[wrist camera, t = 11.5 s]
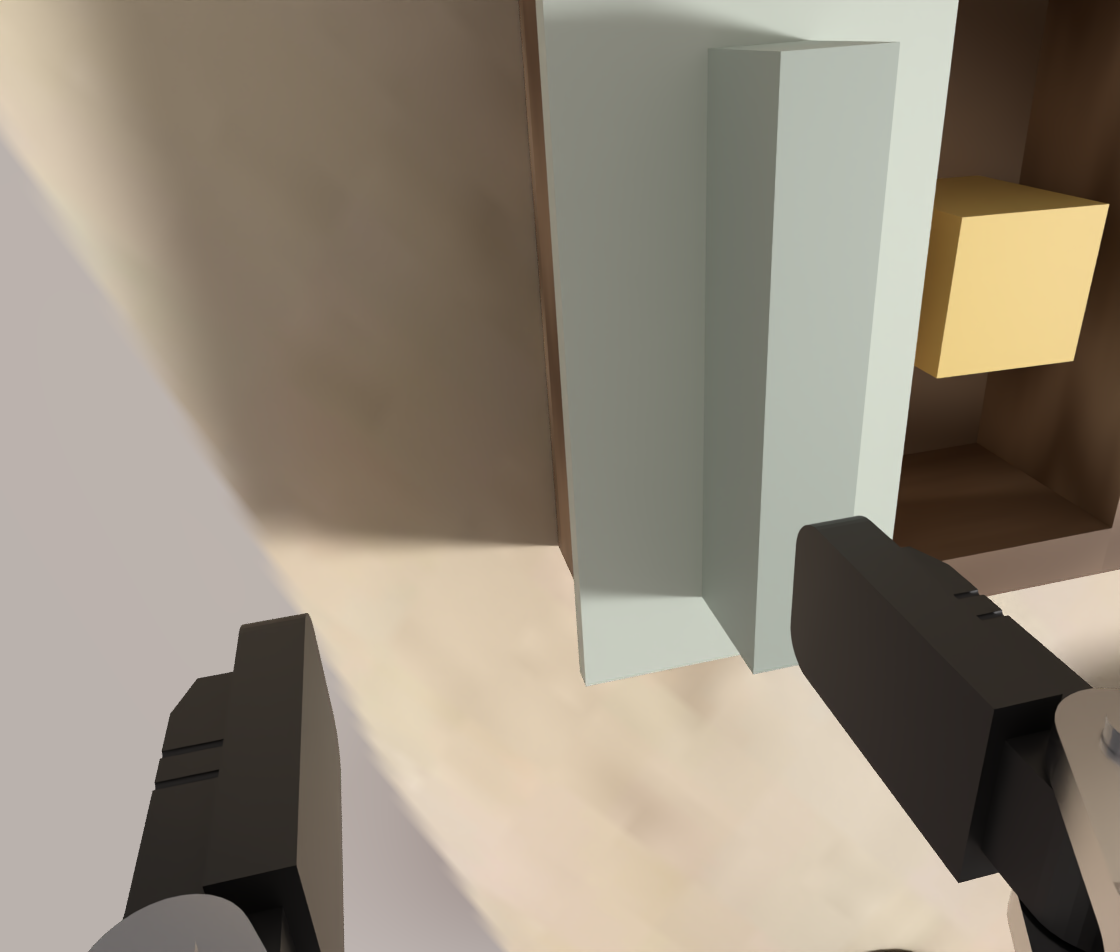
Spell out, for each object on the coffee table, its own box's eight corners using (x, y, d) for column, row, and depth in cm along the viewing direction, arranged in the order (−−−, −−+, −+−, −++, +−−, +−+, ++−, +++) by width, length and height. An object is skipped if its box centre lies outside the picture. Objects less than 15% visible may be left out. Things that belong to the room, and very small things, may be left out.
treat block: (956, 309, 28) (1073, 360, 24) (839, 322, 27) (936, 378, 23) (978, 175, 26) (1109, 204, 22) (853, 185, 25) (962, 217, 21)
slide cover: (869, 612, 24) (951, 700, 21) (579, 671, 23) (620, 774, 20) (950, -91, 17) (1094, -119, 14) (530, -68, 15) (583, -95, 12)
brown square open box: (1024, 464, 32) (1174, 558, 26) (558, 546, 29) (615, 671, 23) (1132, -100, 24) (1379, -141, 19) (513, -68, 21) (581, -104, 16)
